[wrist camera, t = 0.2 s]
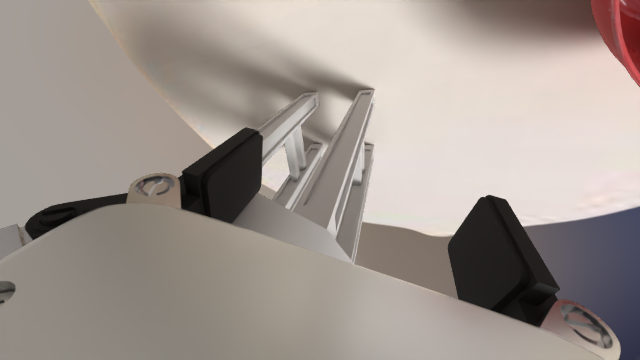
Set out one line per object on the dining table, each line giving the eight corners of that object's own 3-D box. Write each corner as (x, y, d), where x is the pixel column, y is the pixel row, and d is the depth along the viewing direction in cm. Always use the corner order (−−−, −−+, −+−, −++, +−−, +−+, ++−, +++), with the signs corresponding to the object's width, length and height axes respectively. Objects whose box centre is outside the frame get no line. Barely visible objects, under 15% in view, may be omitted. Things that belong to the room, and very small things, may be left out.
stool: (389, 73, 36) (356, 274, 8) (385, 167, 44) (361, 434, 16) (290, 79, 40) (31, 223, 12) (303, 164, 48) (166, 370, 20)
